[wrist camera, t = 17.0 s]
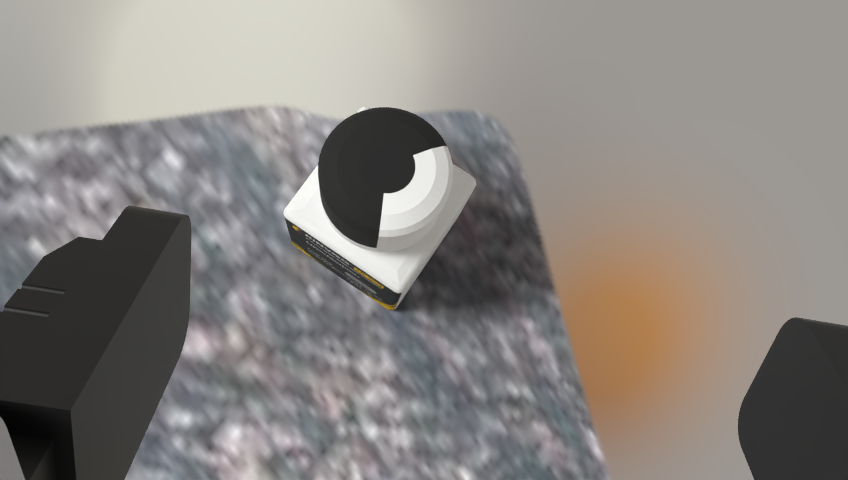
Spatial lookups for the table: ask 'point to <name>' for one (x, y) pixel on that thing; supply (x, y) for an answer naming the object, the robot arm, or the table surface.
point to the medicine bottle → (379, 202)
